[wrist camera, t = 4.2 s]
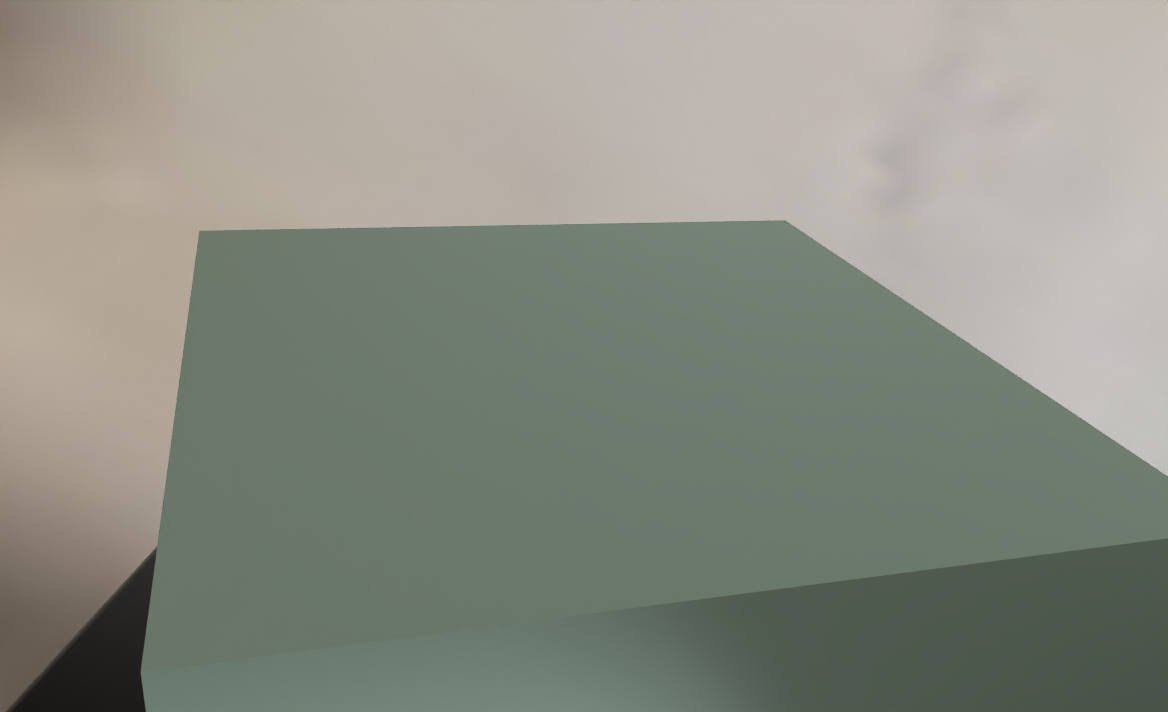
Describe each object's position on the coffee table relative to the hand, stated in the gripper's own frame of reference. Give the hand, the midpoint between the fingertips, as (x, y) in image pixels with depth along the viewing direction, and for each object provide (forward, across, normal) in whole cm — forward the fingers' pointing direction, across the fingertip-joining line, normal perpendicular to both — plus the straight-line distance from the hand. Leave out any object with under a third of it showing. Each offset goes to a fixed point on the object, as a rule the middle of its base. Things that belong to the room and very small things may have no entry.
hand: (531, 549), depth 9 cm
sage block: (+1, 0, 0) cm, 1 cm away
